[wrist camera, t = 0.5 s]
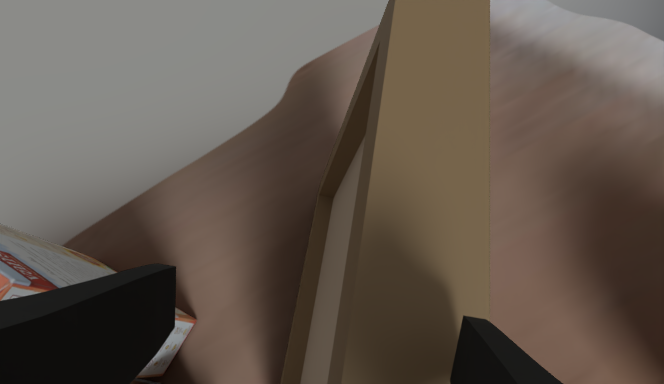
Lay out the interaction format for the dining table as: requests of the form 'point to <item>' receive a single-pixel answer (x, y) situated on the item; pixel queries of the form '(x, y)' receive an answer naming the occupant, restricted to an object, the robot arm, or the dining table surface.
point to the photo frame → (402, 207)
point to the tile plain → (137, 382)
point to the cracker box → (68, 282)
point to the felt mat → (146, 381)
